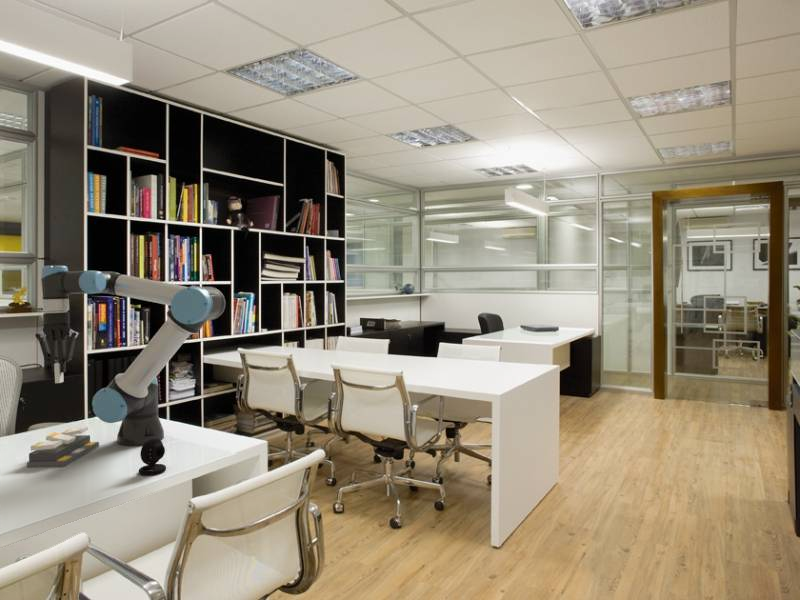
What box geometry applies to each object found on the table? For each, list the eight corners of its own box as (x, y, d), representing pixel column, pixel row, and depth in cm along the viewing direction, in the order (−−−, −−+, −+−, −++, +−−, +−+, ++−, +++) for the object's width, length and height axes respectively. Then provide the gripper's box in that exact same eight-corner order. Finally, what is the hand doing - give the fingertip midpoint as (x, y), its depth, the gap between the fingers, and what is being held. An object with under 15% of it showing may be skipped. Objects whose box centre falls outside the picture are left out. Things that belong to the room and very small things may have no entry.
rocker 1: (62, 444, 174) (61, 439, 174) (54, 448, 170) (53, 443, 170) (39, 446, 174) (39, 442, 174) (30, 450, 170) (30, 446, 170)
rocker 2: (75, 440, 182) (76, 436, 182) (67, 444, 177) (68, 440, 177) (53, 436, 182) (54, 432, 182) (45, 440, 177) (46, 435, 177)
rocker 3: (88, 429, 190) (87, 426, 189) (81, 433, 185) (80, 429, 185) (68, 433, 189) (67, 430, 189) (60, 437, 185) (59, 433, 185)
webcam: (152, 477, 160) (151, 443, 160) (132, 474, 163) (131, 440, 162) (172, 469, 167) (171, 436, 167) (152, 466, 170) (152, 433, 169)
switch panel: (99, 446, 190) (98, 434, 190) (63, 466, 169) (63, 453, 169) (66, 446, 190) (66, 435, 190) (27, 467, 169) (26, 454, 169)
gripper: (82, 310, 189) (85, 379, 190) (41, 312, 188) (44, 381, 188) (71, 312, 182) (74, 383, 183) (29, 313, 180) (32, 385, 181)
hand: (59, 382), depth 185 cm, fingers closed
